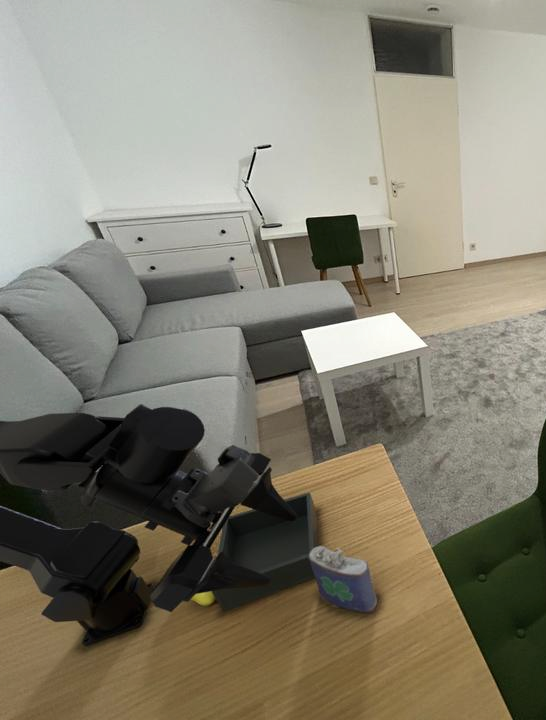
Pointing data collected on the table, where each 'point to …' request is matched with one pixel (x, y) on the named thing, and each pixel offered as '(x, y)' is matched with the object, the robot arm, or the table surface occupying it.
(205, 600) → the yellow rounded oblong piece
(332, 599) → the flask
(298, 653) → the table surface
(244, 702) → the table surface
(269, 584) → the tray
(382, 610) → the table surface
